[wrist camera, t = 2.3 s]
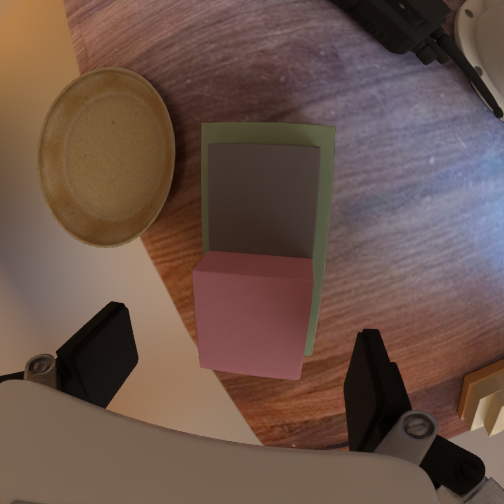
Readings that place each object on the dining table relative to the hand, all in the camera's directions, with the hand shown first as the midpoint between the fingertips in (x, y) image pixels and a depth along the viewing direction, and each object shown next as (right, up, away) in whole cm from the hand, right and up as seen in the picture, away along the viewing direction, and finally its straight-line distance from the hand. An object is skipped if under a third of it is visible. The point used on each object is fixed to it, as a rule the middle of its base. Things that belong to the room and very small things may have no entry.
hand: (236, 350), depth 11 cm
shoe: (+32, -11, +12) cm, 35 cm away
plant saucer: (-11, +12, +11) cm, 20 cm away
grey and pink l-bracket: (+1, +4, +3) cm, 5 cm away
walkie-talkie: (+4, +27, 0) cm, 27 cm away
